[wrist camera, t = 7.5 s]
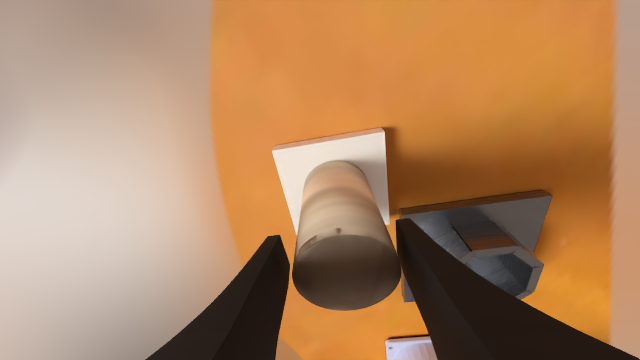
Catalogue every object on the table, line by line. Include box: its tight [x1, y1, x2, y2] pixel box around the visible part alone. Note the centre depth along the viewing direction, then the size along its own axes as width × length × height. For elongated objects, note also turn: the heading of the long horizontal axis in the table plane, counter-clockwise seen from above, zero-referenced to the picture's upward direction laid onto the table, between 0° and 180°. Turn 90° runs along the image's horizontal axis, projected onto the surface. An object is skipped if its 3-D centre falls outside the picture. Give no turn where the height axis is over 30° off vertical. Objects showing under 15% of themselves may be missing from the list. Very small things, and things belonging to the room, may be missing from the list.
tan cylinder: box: [292, 160, 401, 311], centre depth 12 cm, size 4×4×7 cm
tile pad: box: [272, 128, 390, 234], centre depth 16 cm, size 7×7×1 cm
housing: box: [400, 190, 552, 302], centre depth 18 cm, size 10×10×3 cm
